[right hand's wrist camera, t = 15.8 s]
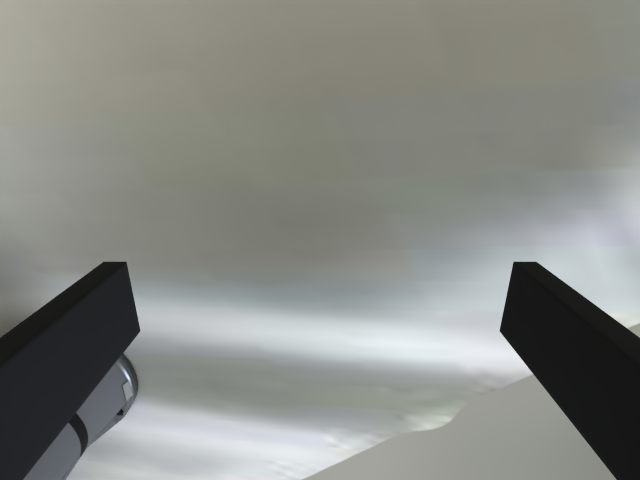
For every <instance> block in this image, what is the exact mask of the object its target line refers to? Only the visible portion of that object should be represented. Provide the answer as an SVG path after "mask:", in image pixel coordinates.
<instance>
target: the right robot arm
mask: <svg viewBox="0 0 640 480" xmlns="http://www.w3.org/2000/svg"><path fill="white" fill-rule="evenodd" d="M139 332H140V327H139V322H138V317H137V312H136V307H135V302H134V297H133V292H132V288H131V283H130V278H129V273H128V268H127V263H126V262H103V263H102V264H100V265H99V266H97V267H96V268H95V269H93V270H92V271H91V272H89V273H88V274H87V275H85V276H84V277H82V278H81V279H80V280H78V281H77V282H76V283H74V284H73V285H72V286H70V287H69V288H68V289H66V290H65V291H63V292H62V293H61V294H59V295H58V296H57V297H55V298H54V299H53V300H51V301H50V302H48V303H47V304H46V305H44V306H43V307H42V308H40V309H39V310H38V311H36V312H35V313H33V314H32V315H31V316H29V317H28V318H27V319H25V320H24V321H23V322H21V323H20V324H19V325H17V326H16V327H14V328H13V329H12V330H10V331H9V332H8V333H6V334H5V335H4V336H2V337H1V338H0V480H66V478H67V477H68V475H69V474H70V472H71V471H72V469H73V468H74V466H75V465H76V463H77V461H78V460H79V458H80V457H81V456H82V454H83V453H84V451H85V450H86V448H87V447H88V446H90V445H91V444H92V443H93V442H95V441H96V440H97V439H98V438H99V437H101V436H102V435H103V434H104V433H105V432H107V431H108V430H109V429H110V428H112V427H113V426H114V425H115V424H116V423H118V422H119V421H120V420H121V419H122V418H123V417H124V416H125V415H126V413H127V412H128V410H129V409H130V407H131V405H132V404H133V402H134V400H135V398H136V395H137V389H138V384H137V378H136V375H135V372H134V370H133V368H132V366H131V364H130V363H129V361H128V360H127V359H126V358H125V357H124V356H123V352H124V351H125V350H126V349H127V347H128V346H129V345H130V343H131V342H132V341H133V340H134V338H135V337H136V336H137V335H138V333H139ZM500 332H501V333H502V335H503V336H504V337H505V338H506V340H507V341H508V342H509V343H510V345H511V346H512V347H513V349H514V350H515V351H516V352H517V354H518V355H519V356H520V357H521V359H522V360H523V361H524V362H525V364H526V365H527V366H528V368H529V369H530V370H531V371H532V373H533V374H534V375H535V376H536V378H537V379H538V380H539V382H540V383H541V384H542V385H543V387H544V388H545V389H546V390H547V392H548V393H549V394H550V395H551V397H552V398H553V399H554V401H555V402H556V403H557V404H558V406H559V407H560V408H561V409H562V411H563V412H564V413H565V414H566V416H567V417H568V418H569V420H570V421H571V422H572V423H573V425H574V426H575V427H576V428H577V430H578V431H579V432H580V434H581V435H582V436H583V437H584V439H585V440H586V441H587V442H588V444H589V445H590V446H591V447H592V449H593V450H594V451H595V453H596V454H597V455H598V456H599V458H600V459H601V460H602V461H603V463H604V464H605V465H606V467H607V468H608V469H609V470H610V472H611V473H612V474H613V475H614V477H615V478H616V479H617V480H640V338H639V337H638V336H636V335H635V334H634V333H632V332H631V331H630V330H628V329H627V328H626V327H624V326H623V325H621V324H620V323H619V322H617V321H616V320H615V319H613V318H612V317H611V316H609V315H608V314H607V313H605V312H604V311H602V310H601V309H600V308H598V307H597V306H596V305H594V304H593V303H592V302H590V301H589V300H587V299H586V298H585V297H583V296H582V295H581V294H579V293H578V292H577V291H575V290H574V289H572V288H571V287H570V286H568V285H567V284H566V283H564V282H563V281H562V280H560V279H559V278H558V277H556V276H555V275H553V274H552V273H551V272H549V271H548V270H547V269H545V268H544V267H543V266H541V265H540V264H538V263H537V262H514V263H513V268H512V273H511V278H510V283H509V288H508V292H507V297H506V302H505V307H504V312H503V317H502V322H501V327H500Z"/></svg>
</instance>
